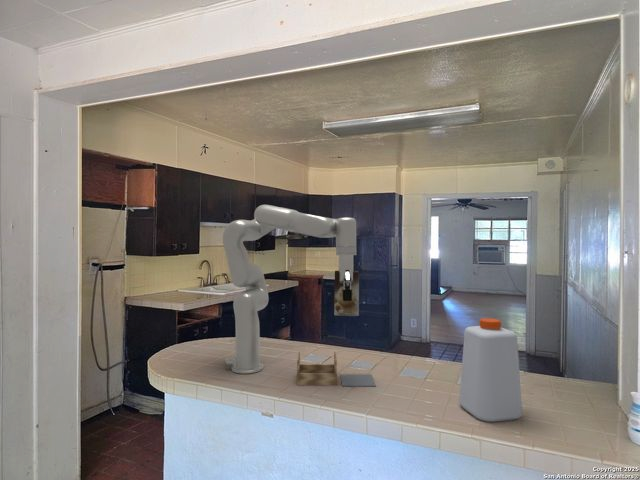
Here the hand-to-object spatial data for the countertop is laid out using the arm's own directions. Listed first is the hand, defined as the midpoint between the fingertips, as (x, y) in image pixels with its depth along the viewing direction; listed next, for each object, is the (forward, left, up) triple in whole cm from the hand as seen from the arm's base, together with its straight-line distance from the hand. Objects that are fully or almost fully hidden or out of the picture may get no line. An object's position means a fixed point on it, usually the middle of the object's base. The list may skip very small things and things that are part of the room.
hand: (346, 298), depth 149 cm
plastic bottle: (+42, -26, -31) cm, 58 cm away
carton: (-11, +1, -30) cm, 32 cm away
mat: (+4, 0, -30) cm, 31 cm away
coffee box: (0, 0, -6) cm, 6 cm away
